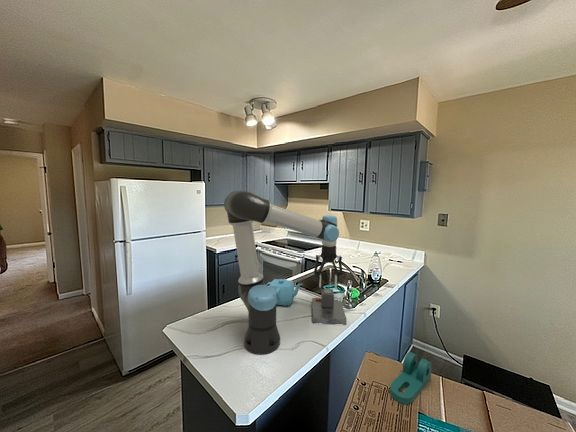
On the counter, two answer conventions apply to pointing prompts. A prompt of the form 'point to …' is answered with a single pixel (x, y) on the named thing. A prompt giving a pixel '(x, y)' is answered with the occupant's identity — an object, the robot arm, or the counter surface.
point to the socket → (328, 313)
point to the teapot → (284, 291)
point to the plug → (327, 298)
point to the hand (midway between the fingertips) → (327, 286)
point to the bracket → (411, 379)
